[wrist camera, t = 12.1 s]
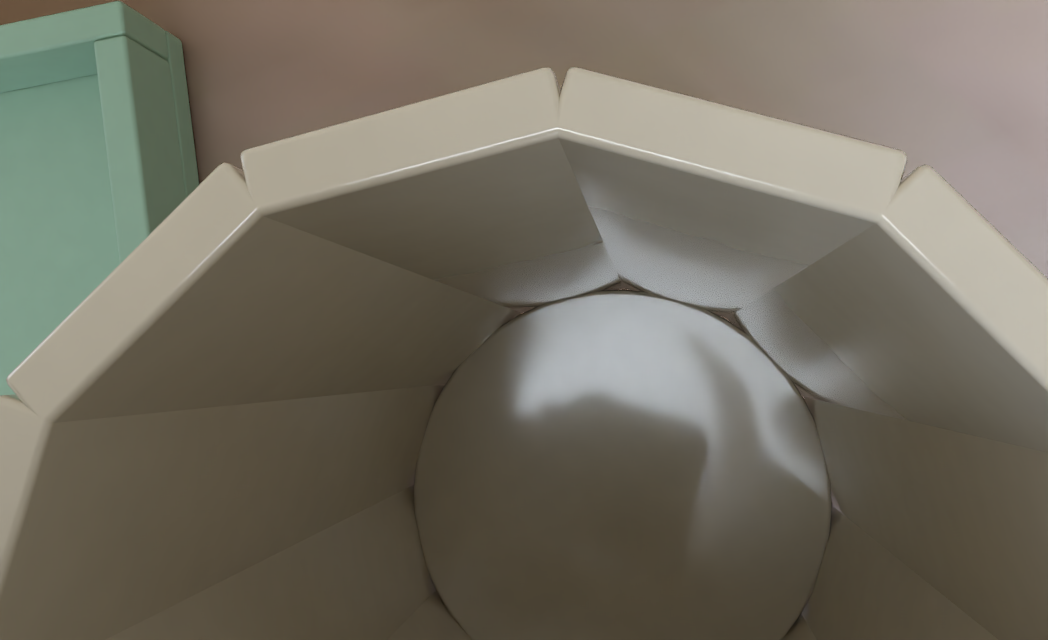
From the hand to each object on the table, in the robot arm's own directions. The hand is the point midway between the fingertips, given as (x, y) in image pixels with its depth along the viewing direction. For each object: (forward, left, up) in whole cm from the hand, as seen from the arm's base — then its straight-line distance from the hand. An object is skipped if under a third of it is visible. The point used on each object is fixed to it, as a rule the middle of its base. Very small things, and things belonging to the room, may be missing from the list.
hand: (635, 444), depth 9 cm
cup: (0, +1, -6) cm, 6 cm away
